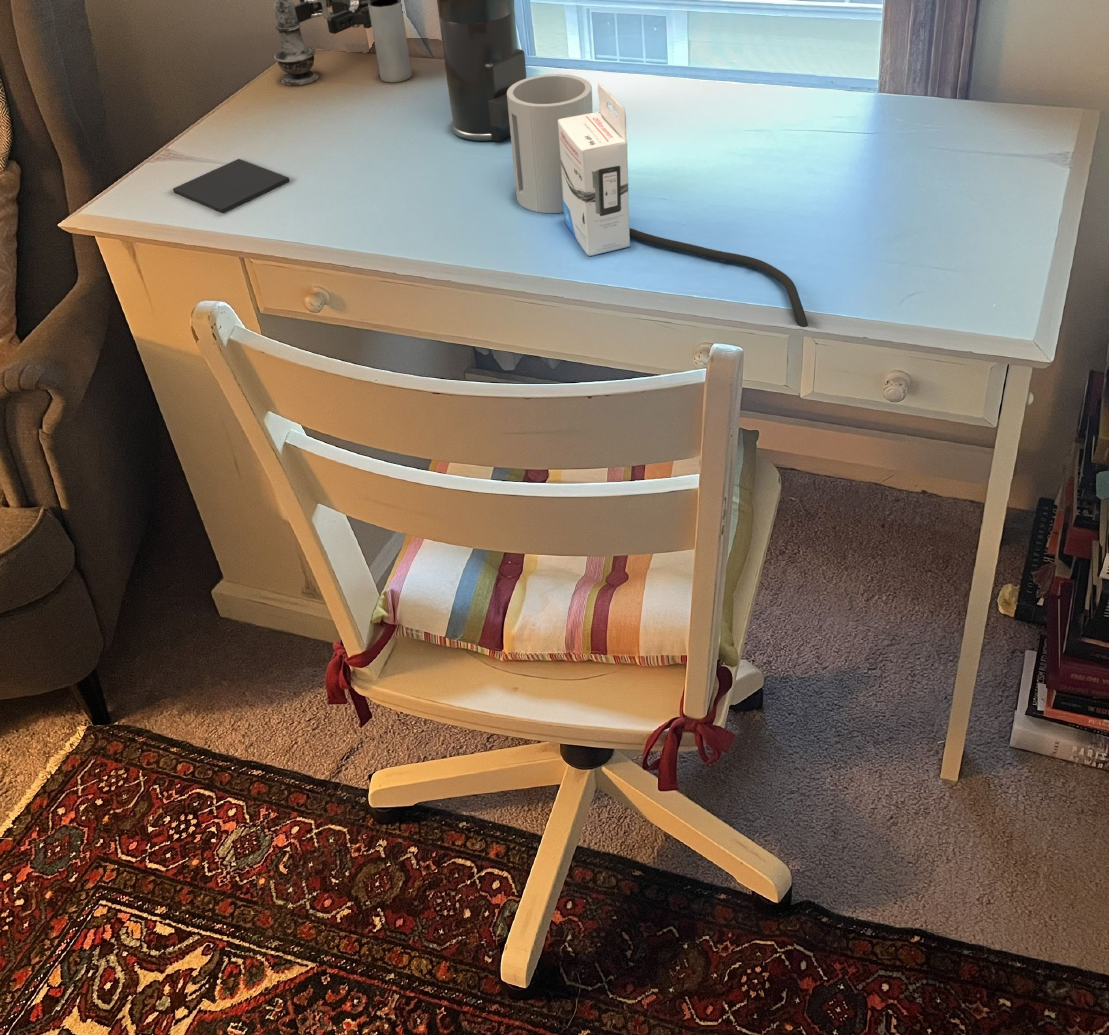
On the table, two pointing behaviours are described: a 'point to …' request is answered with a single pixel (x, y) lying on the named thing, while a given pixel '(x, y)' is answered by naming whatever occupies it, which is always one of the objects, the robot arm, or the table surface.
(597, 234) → the ink box
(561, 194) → the cup
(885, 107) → the table surface
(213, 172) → the mat
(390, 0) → the grey tall cylinder
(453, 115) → the robot arm
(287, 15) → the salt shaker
